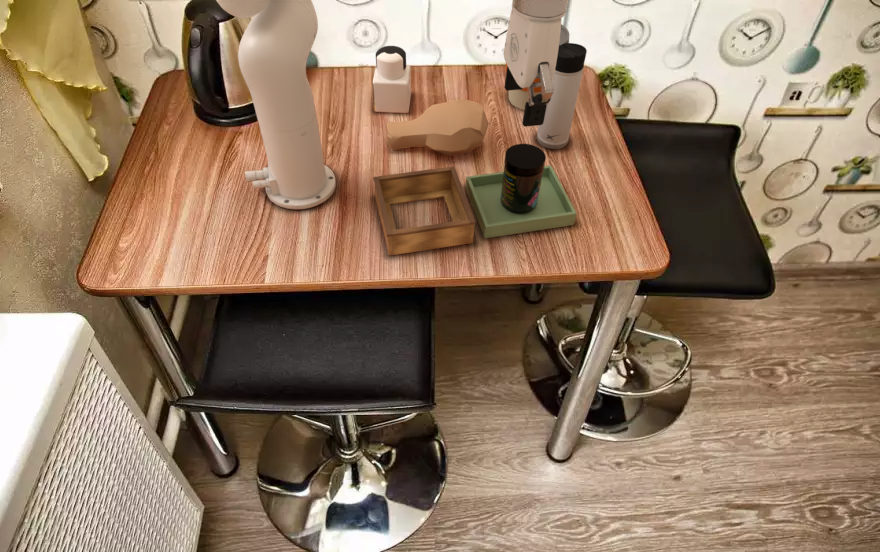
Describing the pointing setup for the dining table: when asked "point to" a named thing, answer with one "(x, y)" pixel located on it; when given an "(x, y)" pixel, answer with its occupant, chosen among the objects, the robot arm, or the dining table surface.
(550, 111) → the travel mug
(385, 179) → the brown wooden square frame
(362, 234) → the dining table surface
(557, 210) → the tray
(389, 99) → the white block figurine
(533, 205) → the supplement container
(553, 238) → the dining table surface
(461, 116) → the squash
